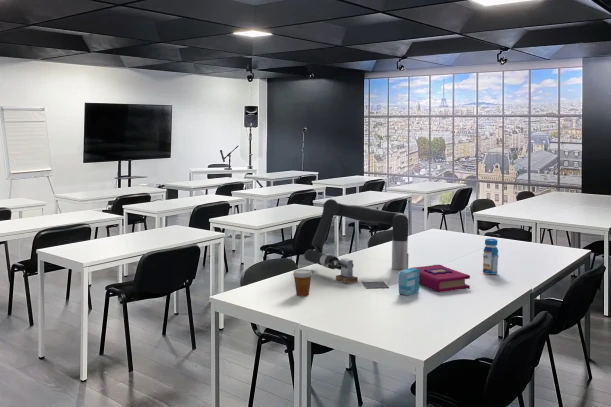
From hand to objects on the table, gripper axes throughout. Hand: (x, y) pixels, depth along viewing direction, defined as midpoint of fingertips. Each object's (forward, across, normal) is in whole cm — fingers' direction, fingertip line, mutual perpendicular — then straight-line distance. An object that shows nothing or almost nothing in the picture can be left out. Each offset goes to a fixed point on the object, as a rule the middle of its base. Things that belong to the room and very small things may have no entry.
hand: (346, 266), depth 305 cm
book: (+32, +37, +9) cm, 50 cm away
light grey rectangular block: (0, 0, +8) cm, 8 cm away
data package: (+36, +11, +8) cm, 39 cm away
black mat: (+15, +7, +8) cm, 19 cm away
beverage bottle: (+34, +78, +8) cm, 86 cm away
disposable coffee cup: (+8, -34, +8) cm, 36 cm away
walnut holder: (0, 0, +8) cm, 8 cm away
